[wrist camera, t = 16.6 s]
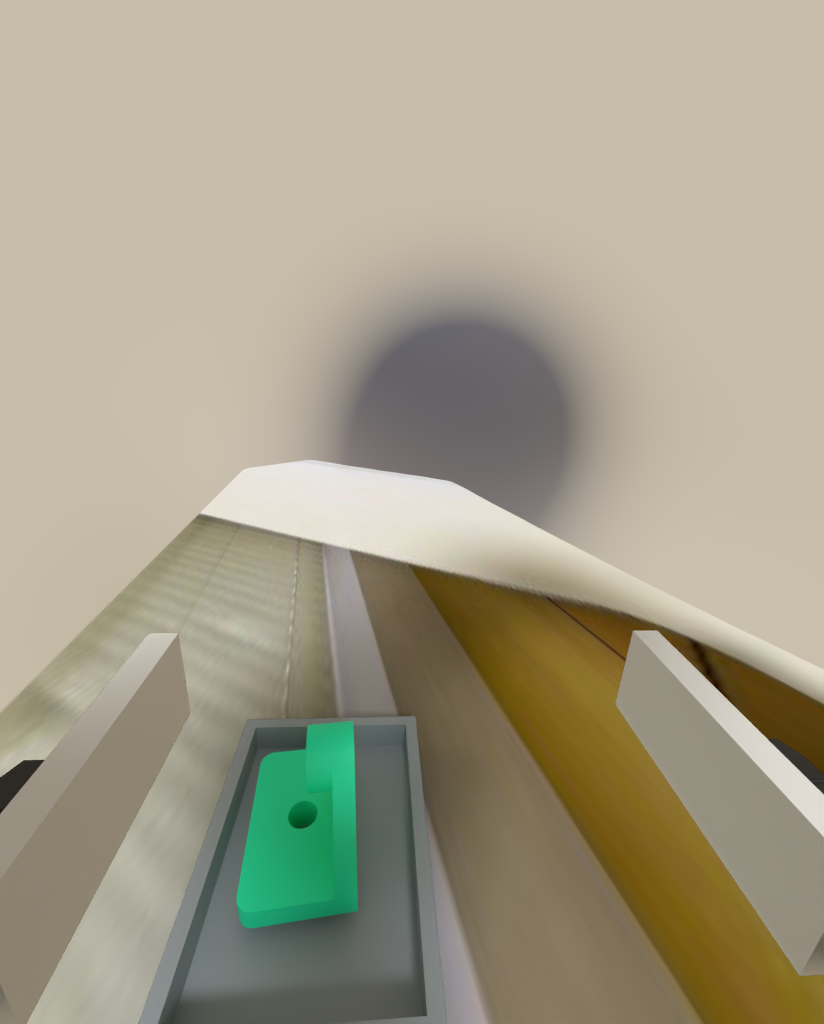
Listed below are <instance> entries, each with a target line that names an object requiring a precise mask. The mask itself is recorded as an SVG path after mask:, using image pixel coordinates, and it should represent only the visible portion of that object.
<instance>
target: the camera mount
mask: <svg viewBox="0 0 824 1024" xmlns="http://www.w3.org/2000/svg"><path fill="white" fill-rule="evenodd" d="M302 825H310V826H308V827H306V828H303V829H297V828H298V827H300V826H302ZM237 908H238V916H239V920H240V922H241V924H242V925H243V926H244V927H246V928H258V927H264V926H270V925H276V924H282V923H288V922H294V921H301V920H307V919H313V918H319V917H325V916H331V915H338V914H344V913H350V912H356V911H357V848H356V800H355V753H354V728H353V721H345V722H334V723H323V724H312V725H308V728H307V739H306V749H304V750H294V751H284V752H274V753H271V754H268V755H267V756H265V757H264V758H263V760H262V761H261V764H260V769H259V775H258V780H257V786H256V792H255V797H254V803H253V808H252V814H251V819H250V825H249V831H248V836H247V842H246V847H245V853H244V858H243V864H242V869H241V875H240V881H239V886H238V892H237Z"/></svg>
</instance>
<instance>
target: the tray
mask: <svg viewBox="0 0 824 1024" xmlns="http://www.w3.org/2000/svg"><path fill="white" fill-rule="evenodd" d="M345 721H353V728H354V753H355V800H356V848H357V911H356V912H350V913H344V914H338V915H331V916H325V917H319V918H313V919H307V920H301V921H294V922H288V923H282V924H276V925H270V926H264V927H258V928H246V927H244V926H243V925H242V924H241V922H240V920H239V916H238V908H237V892H238V886H239V881H240V875H241V869H242V864H243V858H244V853H245V847H246V842H247V836H248V831H249V825H250V819H251V814H252V808H253V803H254V797H255V792H256V786H257V780H258V775H259V769H260V764H261V761H262V760H263V758H264V757H265V756H267V755H268V754H271V753H274V752H284V751H294V750H304V749H306V739H307V728H308V725H312V724H323V723H334V722H345ZM308 826H310V825H302V826H300V827H298V828H297V829H303V828H306V827H308ZM138 1024H447V1022H446V1012H445V1002H444V992H443V982H442V972H441V963H440V953H439V943H438V933H437V923H436V913H435V904H434V894H433V884H432V874H431V864H430V854H429V845H428V835H427V825H426V815H425V805H424V795H423V786H422V776H421V766H420V756H419V746H418V736H417V727H416V717H415V716H400V717H352V718H304V719H256V720H247V723H246V726H245V729H244V731H243V734H242V737H241V740H240V743H239V745H238V748H237V751H236V754H235V756H234V759H233V762H232V765H231V768H230V770H229V773H228V776H227V779H226V781H225V784H224V787H223V790H222V793H221V795H220V798H219V801H218V804H217V806H216V809H215V812H214V815H213V818H212V820H211V823H210V826H209V829H208V831H207V834H206V837H205V840H204V843H203V845H202V848H201V851H200V854H199V856H198V859H197V862H196V865H195V868H194V870H193V873H192V876H191V879H190V881H189V884H188V887H187V890H186V893H185V895H184V898H183V901H182V904H181V906H180V909H179V912H178V915H177V918H176V920H175V923H174V926H173V929H172V931H171V934H170V937H169V940H168V943H167V945H166V948H165V951H164V954H163V956H162V959H161V962H160V965H159V968H158V970H157V973H156V976H155V979H154V981H153V984H152V987H151V990H150V993H149V995H148V998H147V1001H146V1004H145V1006H144V1009H143V1012H142V1015H141V1018H140V1020H139V1023H138Z"/></svg>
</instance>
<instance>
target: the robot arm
mask: <svg viewBox="0 0 824 1024" xmlns="http://www.w3.org/2000/svg"><path fill="white" fill-rule="evenodd" d="M615 705H616V706H617V707H618V709H619V710H620V712H621V713H622V715H623V716H624V718H625V719H626V721H627V722H628V724H629V725H630V727H631V728H632V730H633V731H634V733H635V734H636V735H637V737H638V738H639V740H640V741H641V743H642V744H643V746H644V747H645V749H646V750H647V752H648V753H649V755H650V756H651V758H652V759H653V761H654V762H655V763H656V765H657V766H658V768H659V769H660V771H661V772H662V774H663V775H664V777H665V778H666V780H667V781H668V783H669V784H670V786H671V787H672V789H673V790H674V791H675V793H676V794H677V796H678V797H679V799H680V800H681V802H682V803H683V805H684V806H685V808H686V809H687V811H688V812H689V814H690V815H691V817H692V818H693V819H694V821H695V822H696V824H697V825H698V827H699V828H700V830H701V831H702V833H703V834H704V836H705V837H706V839H707V840H708V842H709V843H710V844H711V846H712V847H713V849H714V850H715V852H716V853H717V855H718V856H719V858H720V859H721V861H722V862H723V864H724V865H725V867H726V868H727V870H728V871H729V872H730V874H731V875H732V877H733V878H734V880H735V881H736V883H737V884H738V886H739V887H740V889H741V890H742V892H743V893H744V895H745V896H746V898H747V899H748V900H749V902H750V903H751V905H752V906H753V908H754V909H755V911H756V912H757V914H758V915H759V917H760V918H761V920H762V921H763V923H764V924H765V926H766V927H767V928H768V930H769V931H770V933H771V934H772V936H773V937H774V939H775V940H776V942H777V943H778V945H779V946H780V948H781V949H782V951H783V952H784V954H785V955H786V956H787V958H788V959H789V961H790V962H791V964H792V965H793V967H794V968H795V970H796V971H797V973H798V974H799V976H809V975H823V974H824V774H822V773H821V772H820V771H819V770H818V769H817V768H816V767H815V766H814V765H813V764H812V763H811V762H810V761H808V760H807V759H806V758H805V757H804V756H802V755H801V754H799V753H798V752H796V751H795V750H793V749H792V748H790V747H789V746H787V745H786V744H784V743H783V742H781V741H780V740H778V739H767V738H766V737H765V736H764V735H763V734H762V733H761V732H760V731H759V730H758V729H757V728H756V727H755V726H754V725H753V724H752V723H751V722H750V721H749V720H748V719H747V718H746V717H744V716H743V715H742V714H741V713H740V712H739V711H738V710H737V709H736V708H735V707H734V706H733V705H732V704H731V703H730V702H729V701H728V700H727V699H726V698H725V697H724V696H723V695H722V694H721V693H720V692H719V691H718V690H717V689H716V688H715V687H714V686H713V685H712V684H711V683H710V682H709V681H708V680H707V679H706V678H705V677H704V676H703V675H702V674H701V673H700V672H699V671H698V670H697V669H696V668H695V667H694V666H693V665H692V664H691V663H690V662H689V661H688V660H687V659H686V658H685V657H684V656H683V655H682V654H681V653H680V652H679V651H678V650H677V649H676V648H675V647H674V646H673V645H671V644H670V643H669V642H668V641H667V640H666V639H665V638H664V637H663V636H662V635H661V634H660V633H659V632H658V631H633V633H632V637H631V641H630V645H629V650H628V654H627V658H626V662H625V666H624V671H623V675H622V679H621V683H620V687H619V692H618V696H617V700H616V704H615ZM189 715H190V706H189V700H188V693H187V687H186V680H185V674H184V667H183V661H182V654H181V647H180V641H179V634H178V633H149V635H148V636H147V637H146V638H145V639H144V641H143V642H142V643H141V644H140V645H139V647H138V648H137V649H136V650H135V651H134V653H133V654H132V655H131V656H130V658H129V659H128V660H127V661H126V662H125V664H124V665H123V666H122V667H121V668H120V670H119V671H118V672H117V673H116V674H115V676H114V677H113V678H112V679H111V681H110V682H109V683H108V684H107V685H106V687H105V688H104V689H103V690H102V691H101V693H100V694H99V695H98V696H97V697H96V699H95V700H94V701H93V702H92V704H91V705H90V706H89V707H88V708H87V710H86V711H85V712H84V713H83V714H82V716H81V717H80V718H79V719H78V720H77V722H76V723H75V724H74V725H73V727H72V728H71V729H70V730H69V731H68V733H67V734H66V735H65V736H64V737H63V739H62V740H61V741H60V742H59V743H58V745H57V746H56V747H55V748H54V750H53V751H52V752H51V753H50V754H49V756H48V757H47V758H46V759H45V760H24V761H22V762H21V763H20V764H18V765H17V766H15V767H14V768H13V769H11V770H10V771H9V772H7V773H6V774H5V775H3V776H2V777H0V1024H27V1022H28V1020H29V1018H30V1016H31V1014H32V1012H33V1010H34V1008H35V1006H36V1005H37V1003H38V1001H39V999H40V997H41V995H42V993H43V991H44V989H45V988H46V986H47V984H48V982H49V980H50V978H51V976H52V974H53V972H54V970H55V969H56V967H57V965H58V963H59V961H60V959H61V957H62V955H63V953H64V952H65V950H66V948H67V946H68V944H69V942H70V940H71V938H72V936H73V934H74V933H75V931H76V929H77V927H78V925H79V923H80V921H81V919H82V917H83V915H84V914H85V912H86V910H87V908H88V906H89V904H90V902H91V900H92V898H93V897H94V895H95V893H96V891H97V889H98V887H99V885H100V883H101V881H102V879H103V878H104V876H105V874H106V872H107V870H108V868H109V866H110V864H111V862H112V861H113V859H114V857H115V855H116V853H117V851H118V849H119V847H120V845H121V843H122V842H123V840H124V838H125V836H126V834H127V832H128V830H129V828H130V826H131V825H132V823H133V821H134V819H135V817H136V815H137V813H138V811H139V809H140V807H141V806H142V804H143V802H144V800H145V798H146V796H147V794H148V792H149V790H150V788H151V787H152V785H153V783H154V781H155V779H156V777H157V775H158V773H159V771H160V770H161V768H162V766H163V764H164V762H165V760H166V758H167V756H168V754H169V752H170V751H171V749H172V747H173V745H174V743H175V741H176V739H177V737H178V735H179V734H180V732H181V730H182V728H183V726H184V724H185V722H186V720H187V718H188V716H189Z"/></svg>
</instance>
